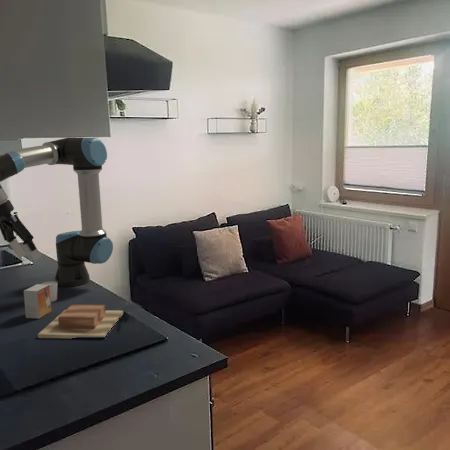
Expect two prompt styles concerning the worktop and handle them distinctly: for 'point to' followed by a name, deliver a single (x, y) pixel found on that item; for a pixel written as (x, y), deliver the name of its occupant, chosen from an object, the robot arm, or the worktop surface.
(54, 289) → the shot glass
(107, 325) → the tower base
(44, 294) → the small box
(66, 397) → the worktop surface
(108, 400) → the worktop surface
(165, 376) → the worktop surface
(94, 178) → the robot arm
